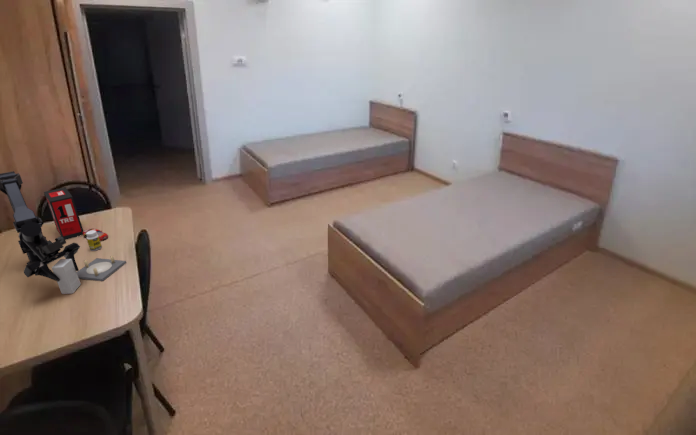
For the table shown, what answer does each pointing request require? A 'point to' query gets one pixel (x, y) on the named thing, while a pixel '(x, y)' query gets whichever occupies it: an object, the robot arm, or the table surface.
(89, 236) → the supplement bottle
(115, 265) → the pin cradle
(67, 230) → the cleaning product box
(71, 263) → the skincare box
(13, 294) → the table surface
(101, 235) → the race car
